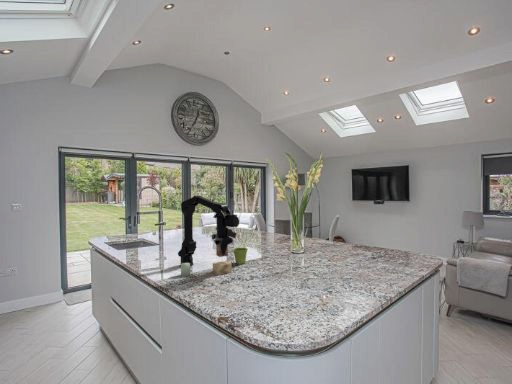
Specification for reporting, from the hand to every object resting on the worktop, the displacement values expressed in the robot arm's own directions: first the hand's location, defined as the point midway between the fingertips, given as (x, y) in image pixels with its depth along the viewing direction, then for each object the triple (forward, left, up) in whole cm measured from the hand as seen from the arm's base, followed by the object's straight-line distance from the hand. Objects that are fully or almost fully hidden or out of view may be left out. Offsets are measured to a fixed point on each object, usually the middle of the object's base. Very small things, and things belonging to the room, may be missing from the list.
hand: (222, 253), depth 166 cm
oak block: (0, -1, -10) cm, 10 cm away
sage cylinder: (-17, -11, -10) cm, 23 cm away
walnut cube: (0, 0, -1) cm, 1 cm away
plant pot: (+3, +20, -10) cm, 23 cm away
